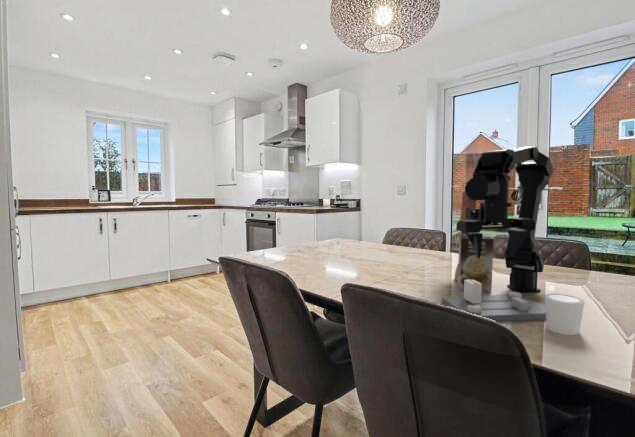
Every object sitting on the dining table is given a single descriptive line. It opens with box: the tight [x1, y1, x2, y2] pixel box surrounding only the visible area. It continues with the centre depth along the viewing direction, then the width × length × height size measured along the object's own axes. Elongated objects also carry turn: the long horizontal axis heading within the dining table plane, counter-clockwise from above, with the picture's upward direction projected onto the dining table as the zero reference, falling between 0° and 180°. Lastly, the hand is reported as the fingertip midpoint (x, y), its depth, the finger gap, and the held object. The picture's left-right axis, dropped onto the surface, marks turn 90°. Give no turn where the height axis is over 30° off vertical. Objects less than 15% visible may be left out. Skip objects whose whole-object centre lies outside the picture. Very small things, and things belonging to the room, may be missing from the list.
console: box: [441, 291, 546, 323], centre depth 83 cm, size 22×14×4 cm, turn 94°
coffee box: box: [457, 234, 494, 293], centre depth 102 cm, size 9×6×16 cm
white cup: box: [544, 293, 585, 336], centre depth 71 cm, size 7×7×7 cm
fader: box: [463, 279, 483, 303], centre depth 85 cm, size 2×4×5 cm, turn 4°
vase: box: [454, 191, 477, 282], centre depth 112 cm, size 10×7×30 cm
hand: (494, 257), depth 88 cm, fingers open, 9 cm apart
